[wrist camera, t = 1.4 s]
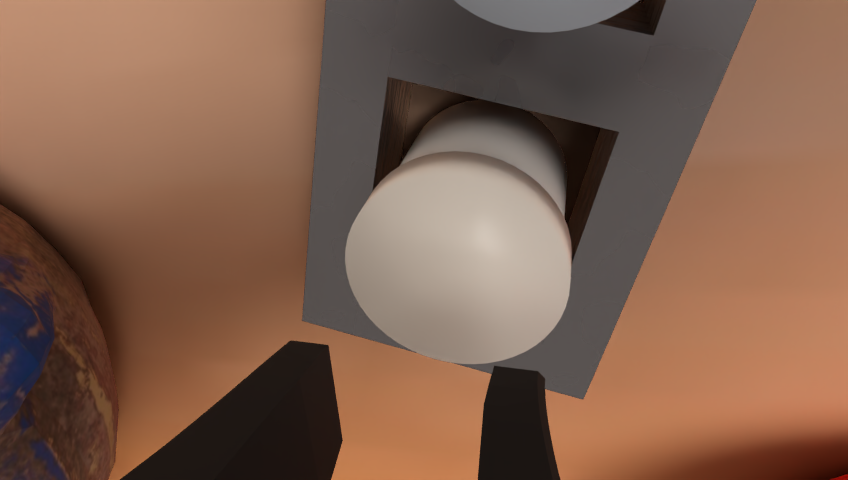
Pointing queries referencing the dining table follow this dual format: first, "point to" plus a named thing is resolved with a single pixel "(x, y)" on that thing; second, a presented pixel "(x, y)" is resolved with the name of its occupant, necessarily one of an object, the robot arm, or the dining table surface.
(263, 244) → the dining table surface
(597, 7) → the slate button
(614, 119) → the panel
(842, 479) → the tomato
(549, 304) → the cream button
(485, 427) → the robot arm
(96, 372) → the bowl
